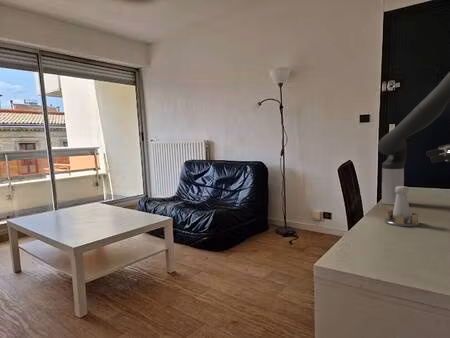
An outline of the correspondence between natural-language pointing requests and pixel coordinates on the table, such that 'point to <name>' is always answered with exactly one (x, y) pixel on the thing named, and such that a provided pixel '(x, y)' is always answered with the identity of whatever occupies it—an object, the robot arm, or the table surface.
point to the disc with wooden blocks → (401, 219)
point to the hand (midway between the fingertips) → (428, 157)
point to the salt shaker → (401, 203)
